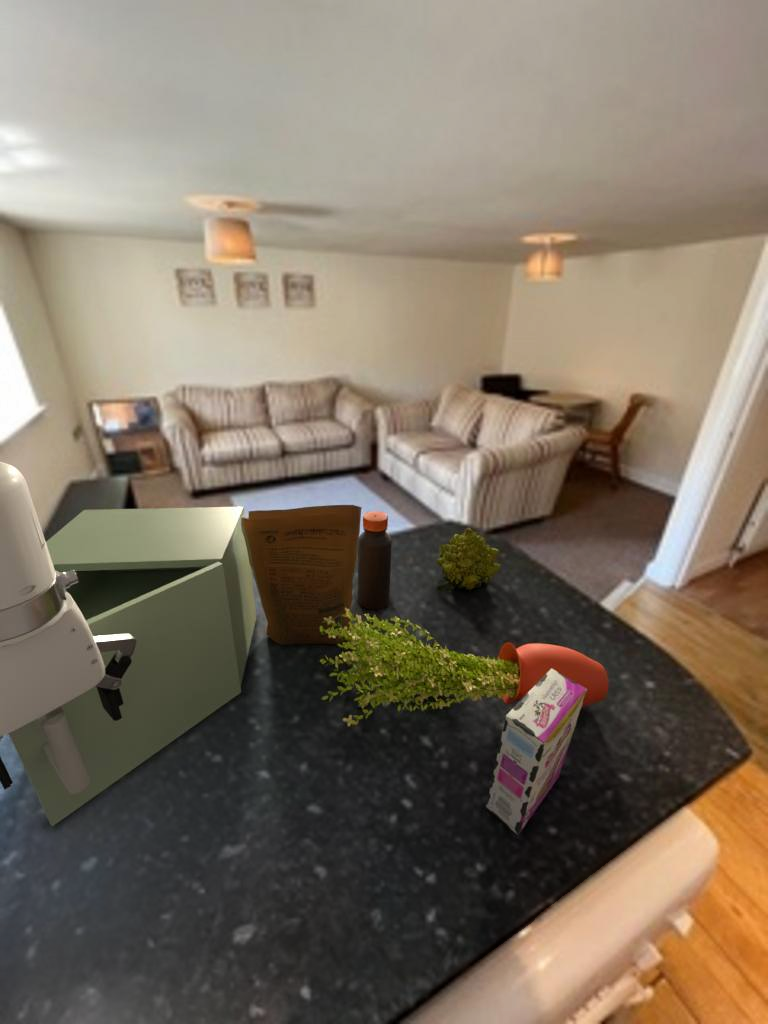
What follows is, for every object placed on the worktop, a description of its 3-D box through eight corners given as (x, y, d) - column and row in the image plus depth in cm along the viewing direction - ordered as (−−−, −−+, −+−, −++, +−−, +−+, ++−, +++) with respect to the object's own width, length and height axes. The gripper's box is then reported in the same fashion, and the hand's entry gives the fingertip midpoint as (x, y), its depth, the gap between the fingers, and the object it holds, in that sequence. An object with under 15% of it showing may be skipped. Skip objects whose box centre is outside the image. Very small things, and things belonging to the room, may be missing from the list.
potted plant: (552, 672, 86) (316, 649, 81) (576, 611, 80) (325, 583, 75) (601, 764, 68) (304, 742, 63) (637, 694, 62) (314, 664, 58)
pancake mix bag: (360, 650, 82) (361, 511, 70) (254, 652, 80) (237, 511, 69) (360, 626, 88) (361, 494, 76) (262, 627, 87) (247, 494, 75)
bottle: (366, 614, 91) (368, 526, 83) (352, 596, 96) (352, 512, 88) (395, 604, 94) (399, 519, 86) (379, 588, 100) (381, 506, 91)
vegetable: (433, 590, 93) (449, 520, 94) (424, 587, 108) (438, 527, 110) (502, 607, 92) (517, 537, 94) (484, 601, 108) (497, 541, 110)
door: (269, 715, 68) (254, 582, 58) (75, 869, 49) (3, 711, 39) (237, 689, 72) (218, 561, 62) (49, 821, 53) (-23, 668, 43)
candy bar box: (519, 839, 53) (544, 744, 46) (484, 808, 56) (502, 715, 50) (562, 777, 60) (589, 687, 54) (528, 753, 64) (550, 665, 57)
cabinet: (240, 687, 73) (221, 558, 63) (66, 699, 70) (17, 565, 60) (256, 618, 89) (243, 506, 79) (116, 624, 86) (84, 509, 76)
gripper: (99, 553, 47) (132, 676, 54) (-146, 638, 34) (-60, 783, 41) (133, 580, 42) (164, 709, 50) (-132, 688, 30) (-39, 840, 37)
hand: (62, 743), depth 45 cm, fingers open, 9 cm apart
